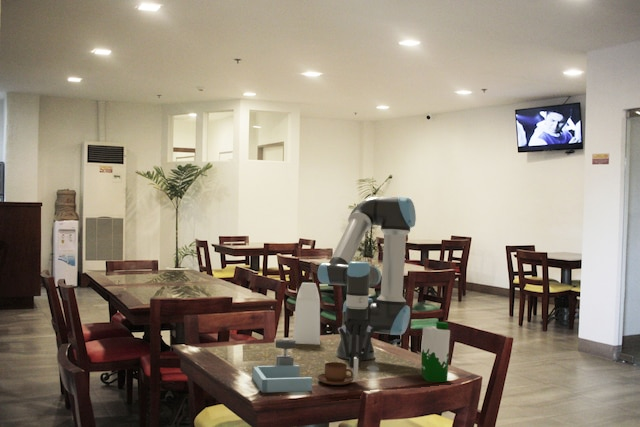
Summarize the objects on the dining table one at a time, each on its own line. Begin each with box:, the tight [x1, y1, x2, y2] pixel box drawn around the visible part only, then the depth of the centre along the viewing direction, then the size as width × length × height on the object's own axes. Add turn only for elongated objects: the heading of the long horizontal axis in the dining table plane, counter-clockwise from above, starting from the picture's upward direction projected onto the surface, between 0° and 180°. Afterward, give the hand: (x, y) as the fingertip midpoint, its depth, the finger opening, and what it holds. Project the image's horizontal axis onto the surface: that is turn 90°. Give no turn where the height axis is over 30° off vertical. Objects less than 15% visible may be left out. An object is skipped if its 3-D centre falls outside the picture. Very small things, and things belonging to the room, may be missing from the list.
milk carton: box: [420, 321, 451, 383], centre depth 222 cm, size 9×9×20 cm
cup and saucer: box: [317, 361, 354, 386], centre depth 211 cm, size 12×12×6 cm
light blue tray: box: [251, 354, 313, 394], centre depth 210 cm, size 16×24×6 cm, turn 16°
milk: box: [292, 282, 321, 345], centre depth 281 cm, size 12×12×26 cm
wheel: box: [275, 338, 297, 356], centre depth 220 cm, size 7×7×6 cm
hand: (354, 377), depth 213 cm, fingers closed
